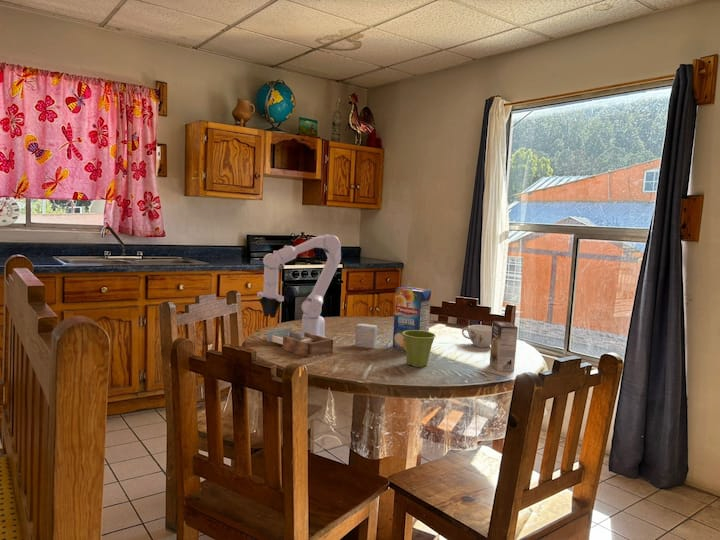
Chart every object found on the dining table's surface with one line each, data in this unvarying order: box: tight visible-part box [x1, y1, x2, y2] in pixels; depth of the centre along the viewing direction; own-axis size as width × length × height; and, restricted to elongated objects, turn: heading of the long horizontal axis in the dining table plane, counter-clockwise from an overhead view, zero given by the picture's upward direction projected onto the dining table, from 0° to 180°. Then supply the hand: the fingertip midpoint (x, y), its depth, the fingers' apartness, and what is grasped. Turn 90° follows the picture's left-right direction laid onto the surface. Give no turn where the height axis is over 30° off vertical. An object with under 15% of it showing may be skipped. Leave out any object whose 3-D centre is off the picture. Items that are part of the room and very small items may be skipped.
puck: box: [289, 331, 302, 340], centre depth 212 cm, size 5×5×4 cm
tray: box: [266, 327, 313, 346], centre depth 214 cm, size 15×12×4 cm
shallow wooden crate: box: [281, 332, 334, 358], centre depth 208 cm, size 16×12×5 cm
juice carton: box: [392, 286, 432, 351], centre depth 218 cm, size 12×8×24 cm, turn 53°
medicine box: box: [354, 323, 378, 349], centre depth 219 cm, size 8×4×9 cm, turn 71°
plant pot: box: [403, 330, 437, 368], centre depth 196 cm, size 12×12×11 cm
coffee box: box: [489, 320, 519, 372], centre depth 197 cm, size 9×6×16 cm
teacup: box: [461, 324, 492, 349], centre depth 230 cm, size 15×12×8 cm
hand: (269, 316), depth 222 cm, fingers open, 3 cm apart
